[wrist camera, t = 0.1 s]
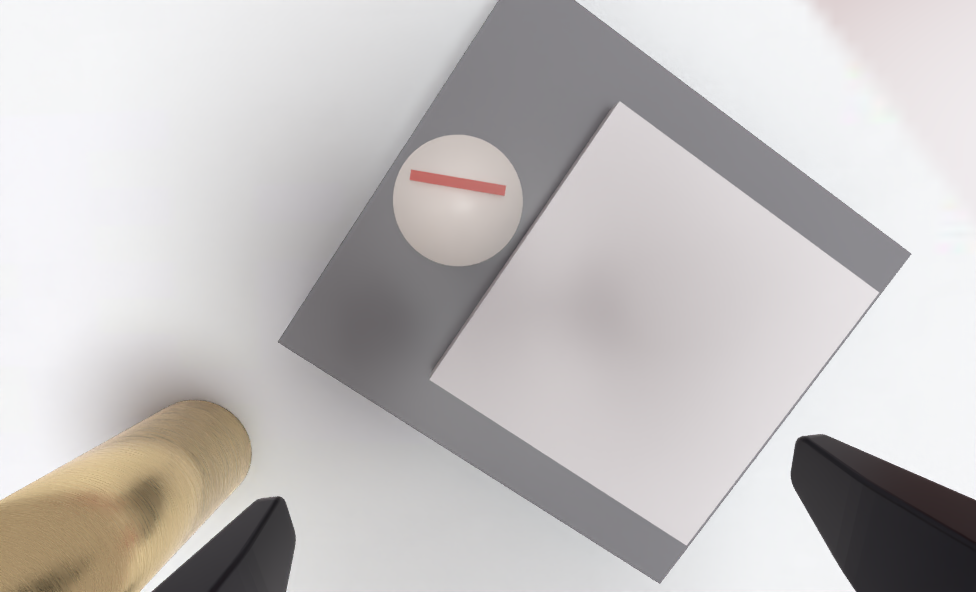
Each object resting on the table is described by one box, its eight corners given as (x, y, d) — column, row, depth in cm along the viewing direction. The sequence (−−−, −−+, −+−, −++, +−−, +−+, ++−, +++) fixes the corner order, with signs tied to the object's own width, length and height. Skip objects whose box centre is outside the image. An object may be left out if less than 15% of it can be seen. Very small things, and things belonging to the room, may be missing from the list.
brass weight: (216, 521, 25) (-62, 829, 12) (122, 465, 24) (-273, 726, 11) (271, 437, 24) (46, 663, 12) (177, 379, 24) (-169, 547, 11)
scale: (638, 543, 26) (670, 603, 21) (301, 328, 24) (265, 348, 20) (857, 251, 24) (937, 254, 20) (516, -2, 22) (526, -56, 18)
